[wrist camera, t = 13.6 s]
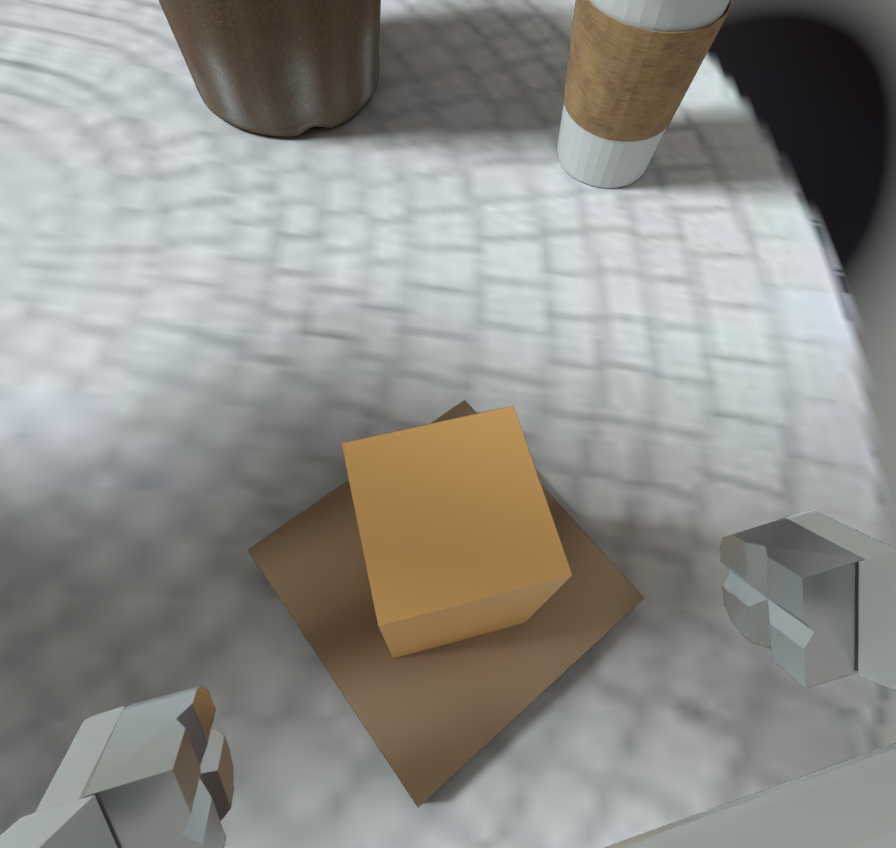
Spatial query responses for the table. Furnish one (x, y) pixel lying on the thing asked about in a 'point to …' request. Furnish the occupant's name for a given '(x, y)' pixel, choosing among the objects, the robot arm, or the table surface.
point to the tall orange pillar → (453, 529)
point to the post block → (441, 668)
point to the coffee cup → (629, 81)
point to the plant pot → (280, 59)
